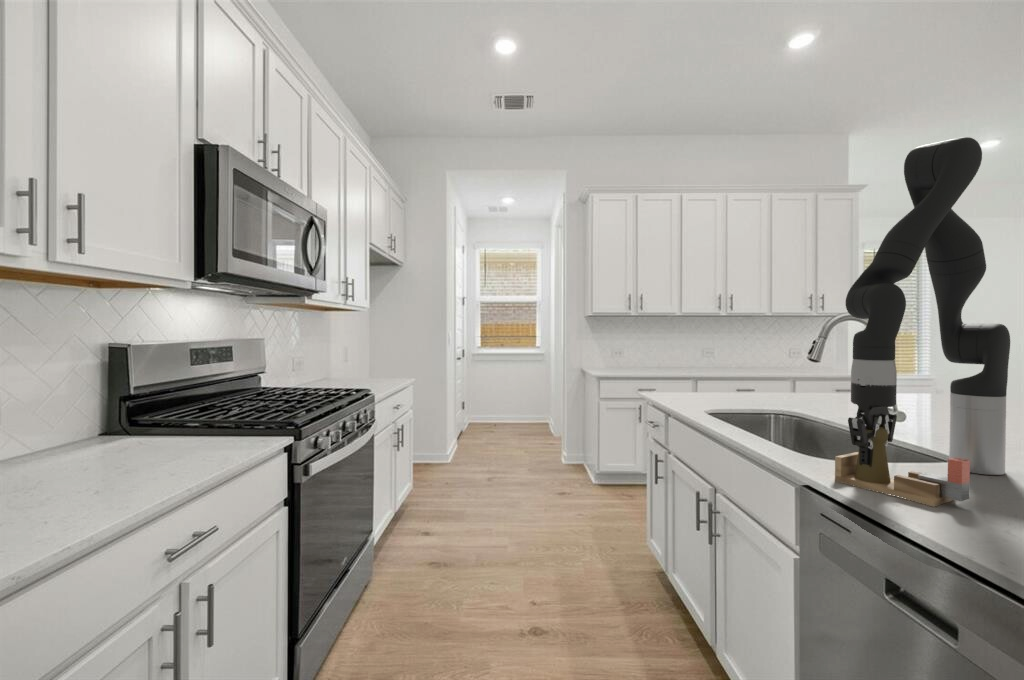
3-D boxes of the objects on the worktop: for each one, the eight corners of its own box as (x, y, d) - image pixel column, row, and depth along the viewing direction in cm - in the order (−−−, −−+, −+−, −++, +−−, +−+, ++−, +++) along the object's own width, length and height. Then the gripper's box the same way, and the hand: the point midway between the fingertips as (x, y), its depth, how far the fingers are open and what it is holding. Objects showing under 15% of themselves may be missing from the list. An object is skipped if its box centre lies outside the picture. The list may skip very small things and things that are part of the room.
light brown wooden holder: (856, 475, 107) (856, 452, 107) (954, 499, 92) (955, 472, 91) (834, 480, 103) (835, 456, 103) (933, 506, 88) (934, 478, 88)
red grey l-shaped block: (925, 488, 93) (926, 452, 93) (969, 498, 88) (969, 460, 88) (917, 490, 92) (918, 453, 92) (961, 501, 86) (962, 462, 86)
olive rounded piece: (897, 484, 97) (897, 429, 97) (863, 482, 98) (863, 428, 98) (880, 475, 103) (880, 423, 102) (848, 474, 104) (848, 422, 104)
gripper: (872, 378, 107) (871, 456, 107) (833, 381, 100) (832, 465, 100) (912, 381, 100) (911, 465, 100) (874, 385, 93) (873, 474, 94)
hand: (872, 464), depth 100 cm, fingers open, 4 cm apart
